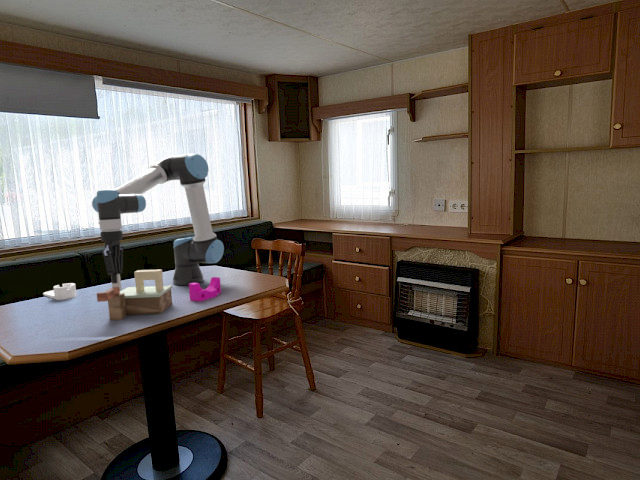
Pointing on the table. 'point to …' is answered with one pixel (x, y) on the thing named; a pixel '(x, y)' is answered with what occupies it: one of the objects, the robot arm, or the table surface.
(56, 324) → the table surface
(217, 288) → the toy block
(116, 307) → the toolbox
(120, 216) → the robot arm
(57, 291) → the bracket
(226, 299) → the table surface
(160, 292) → the lid
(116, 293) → the wooden key
